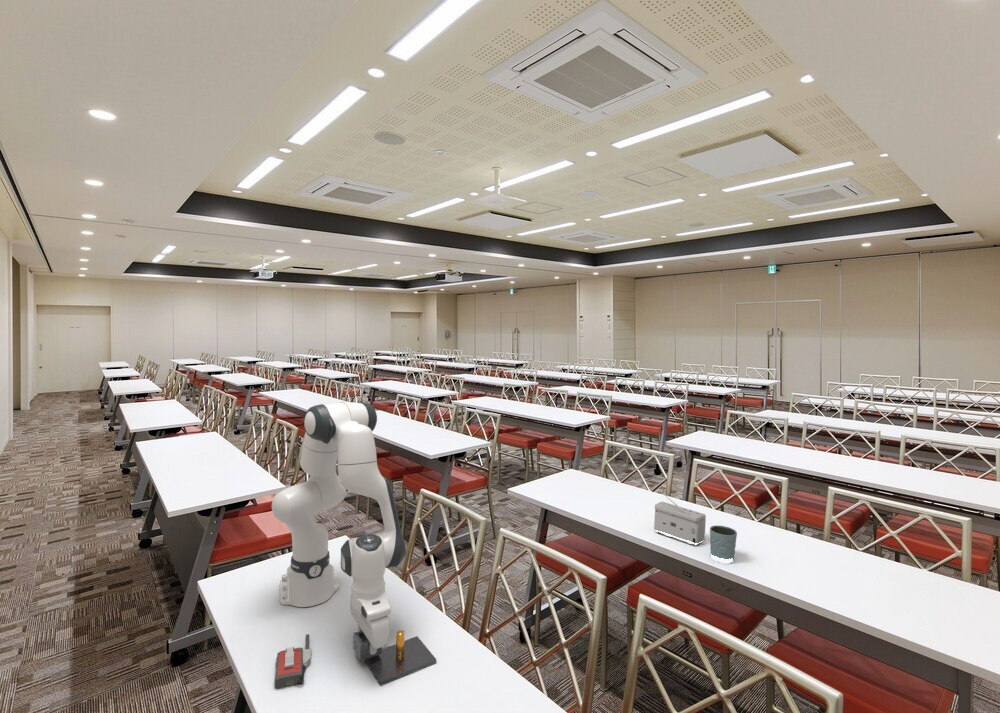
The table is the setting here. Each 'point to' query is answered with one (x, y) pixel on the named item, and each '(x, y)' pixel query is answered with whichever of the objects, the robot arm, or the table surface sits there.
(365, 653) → the hollow square tube
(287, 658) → the walkie-talkie
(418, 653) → the base
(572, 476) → the table surface
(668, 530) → the stereo radio cassette player
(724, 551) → the grey green cup
